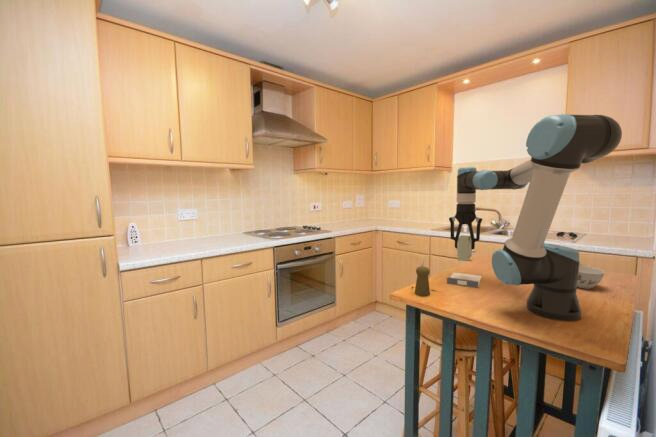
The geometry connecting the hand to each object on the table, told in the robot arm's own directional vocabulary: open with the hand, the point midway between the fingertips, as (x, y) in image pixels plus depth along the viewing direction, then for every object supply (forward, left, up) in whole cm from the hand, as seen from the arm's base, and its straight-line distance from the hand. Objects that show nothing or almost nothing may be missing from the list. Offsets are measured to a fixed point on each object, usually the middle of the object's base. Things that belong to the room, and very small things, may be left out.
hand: (464, 255), depth 135 cm
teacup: (+18, -45, -12) cm, 50 cm away
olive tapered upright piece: (-24, +12, -12) cm, 29 cm away
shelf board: (-1, -1, -12) cm, 12 cm away
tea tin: (0, 0, -1) cm, 1 cm away
